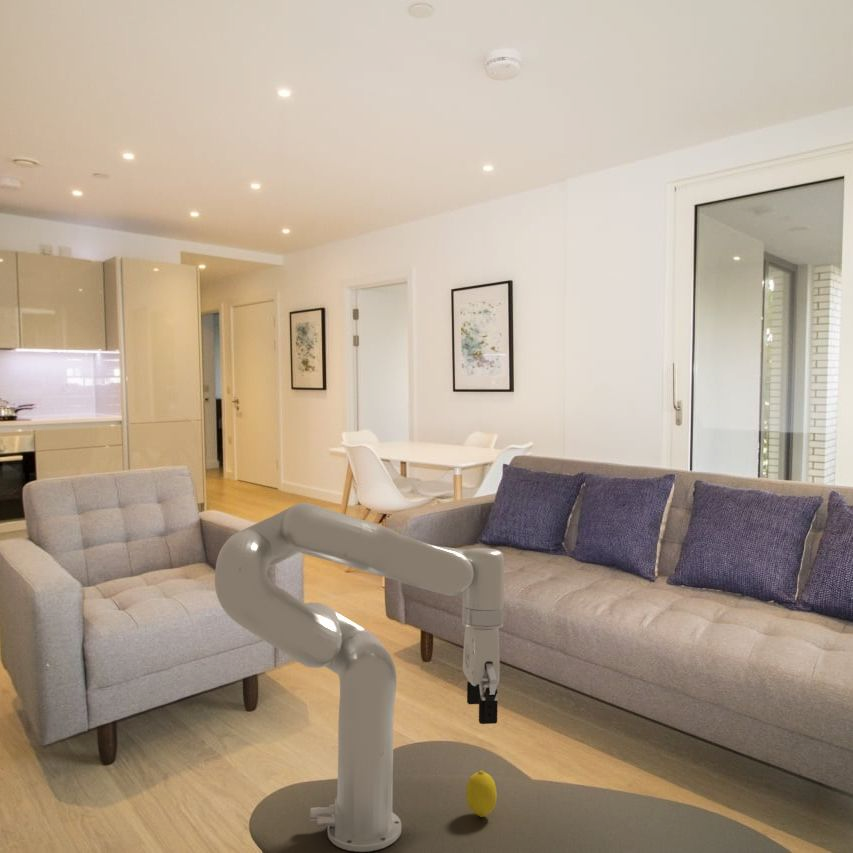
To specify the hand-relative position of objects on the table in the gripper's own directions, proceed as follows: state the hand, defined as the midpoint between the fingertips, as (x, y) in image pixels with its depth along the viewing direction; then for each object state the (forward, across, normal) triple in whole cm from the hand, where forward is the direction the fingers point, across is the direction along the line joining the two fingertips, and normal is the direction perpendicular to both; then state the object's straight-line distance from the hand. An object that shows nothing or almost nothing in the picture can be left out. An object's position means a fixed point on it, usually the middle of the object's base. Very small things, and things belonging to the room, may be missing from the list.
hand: (481, 713), depth 116 cm
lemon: (+18, 0, 0) cm, 18 cm away
